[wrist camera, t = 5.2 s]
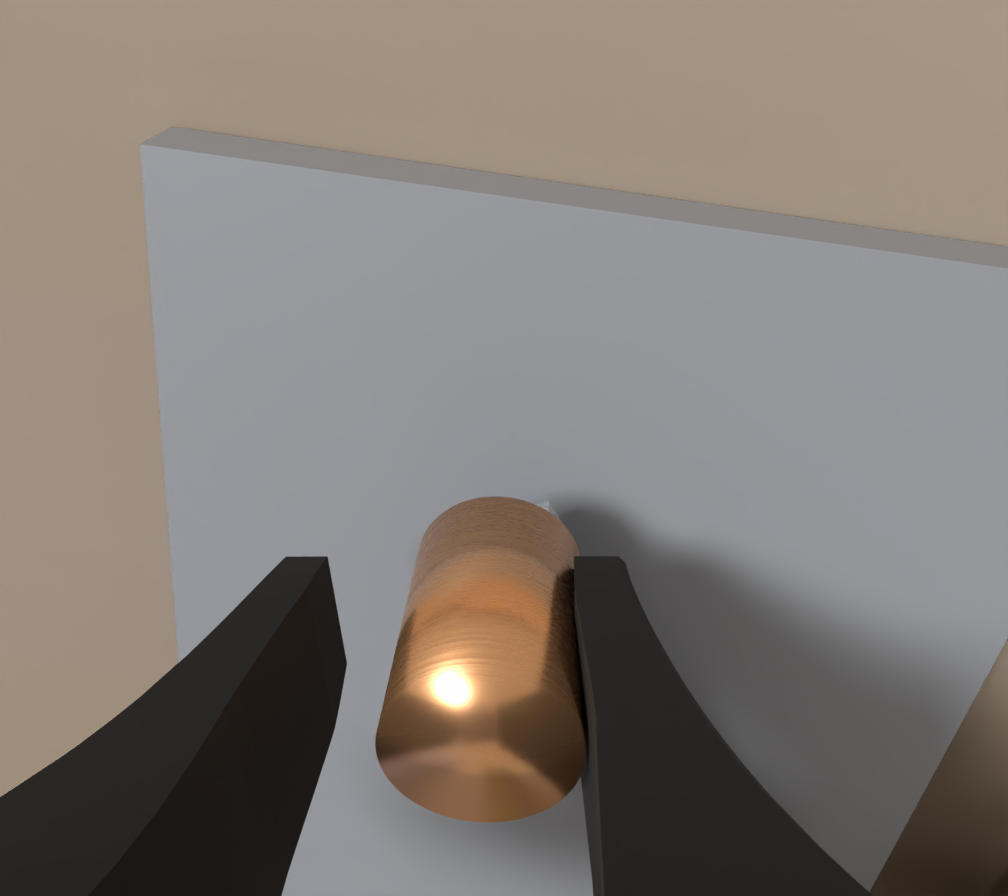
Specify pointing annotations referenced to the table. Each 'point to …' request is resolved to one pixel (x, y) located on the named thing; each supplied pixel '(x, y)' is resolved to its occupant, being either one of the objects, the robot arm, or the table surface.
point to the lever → (487, 667)
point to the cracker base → (590, 462)
